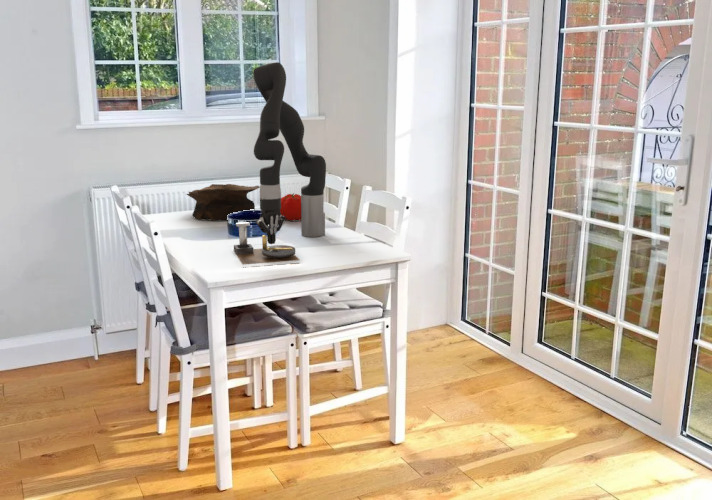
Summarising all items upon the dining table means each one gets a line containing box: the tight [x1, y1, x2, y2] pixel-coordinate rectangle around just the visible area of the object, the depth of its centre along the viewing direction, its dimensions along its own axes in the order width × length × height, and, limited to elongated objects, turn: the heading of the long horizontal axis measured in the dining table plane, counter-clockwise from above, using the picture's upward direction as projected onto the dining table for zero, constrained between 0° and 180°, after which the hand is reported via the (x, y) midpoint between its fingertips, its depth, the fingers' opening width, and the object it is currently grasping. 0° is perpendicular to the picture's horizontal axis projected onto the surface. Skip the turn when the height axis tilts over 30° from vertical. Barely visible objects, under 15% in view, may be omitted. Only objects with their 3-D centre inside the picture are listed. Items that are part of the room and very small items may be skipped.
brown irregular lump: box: [186, 183, 260, 221], centre depth 331 cm, size 34×33×15 cm
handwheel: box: [261, 234, 296, 258], centre depth 254 cm, size 12×12×6 cm
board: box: [233, 243, 300, 268], centre depth 257 cm, size 20×20×3 cm
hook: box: [235, 221, 251, 248], centre depth 259 cm, size 5×3×11 cm, turn 109°
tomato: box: [280, 192, 301, 222], centre depth 321 cm, size 13×14×12 cm
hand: (271, 243), depth 256 cm, fingers closed
